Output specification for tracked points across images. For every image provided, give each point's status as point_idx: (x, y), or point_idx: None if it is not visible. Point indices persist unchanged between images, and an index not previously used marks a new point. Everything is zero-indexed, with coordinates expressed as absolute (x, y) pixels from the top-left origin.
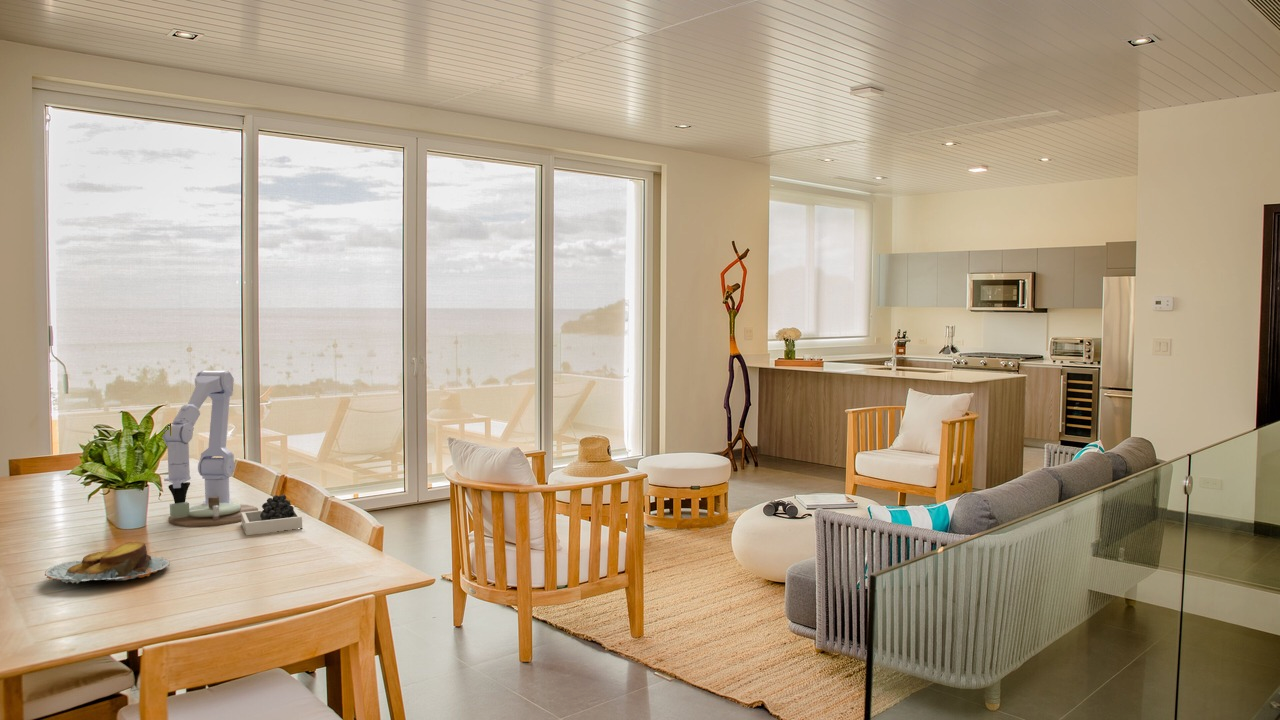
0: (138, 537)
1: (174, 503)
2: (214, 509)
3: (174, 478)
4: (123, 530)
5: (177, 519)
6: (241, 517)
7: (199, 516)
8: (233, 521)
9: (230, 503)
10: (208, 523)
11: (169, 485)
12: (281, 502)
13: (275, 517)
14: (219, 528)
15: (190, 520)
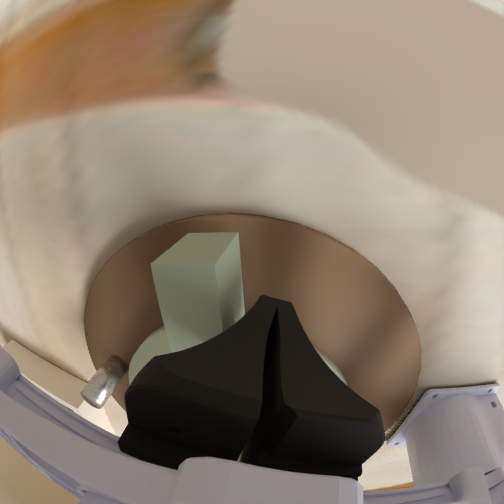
0: (44, 89)
1: (215, 299)
2: (86, 384)
3: (81, 502)
4: (190, 5)
5: None
6: (79, 397)
7: (144, 340)
8: None
9: None
10: (86, 330)
11: (218, 414)
12: None
13: None
14: (62, 333)
15: (142, 299)
